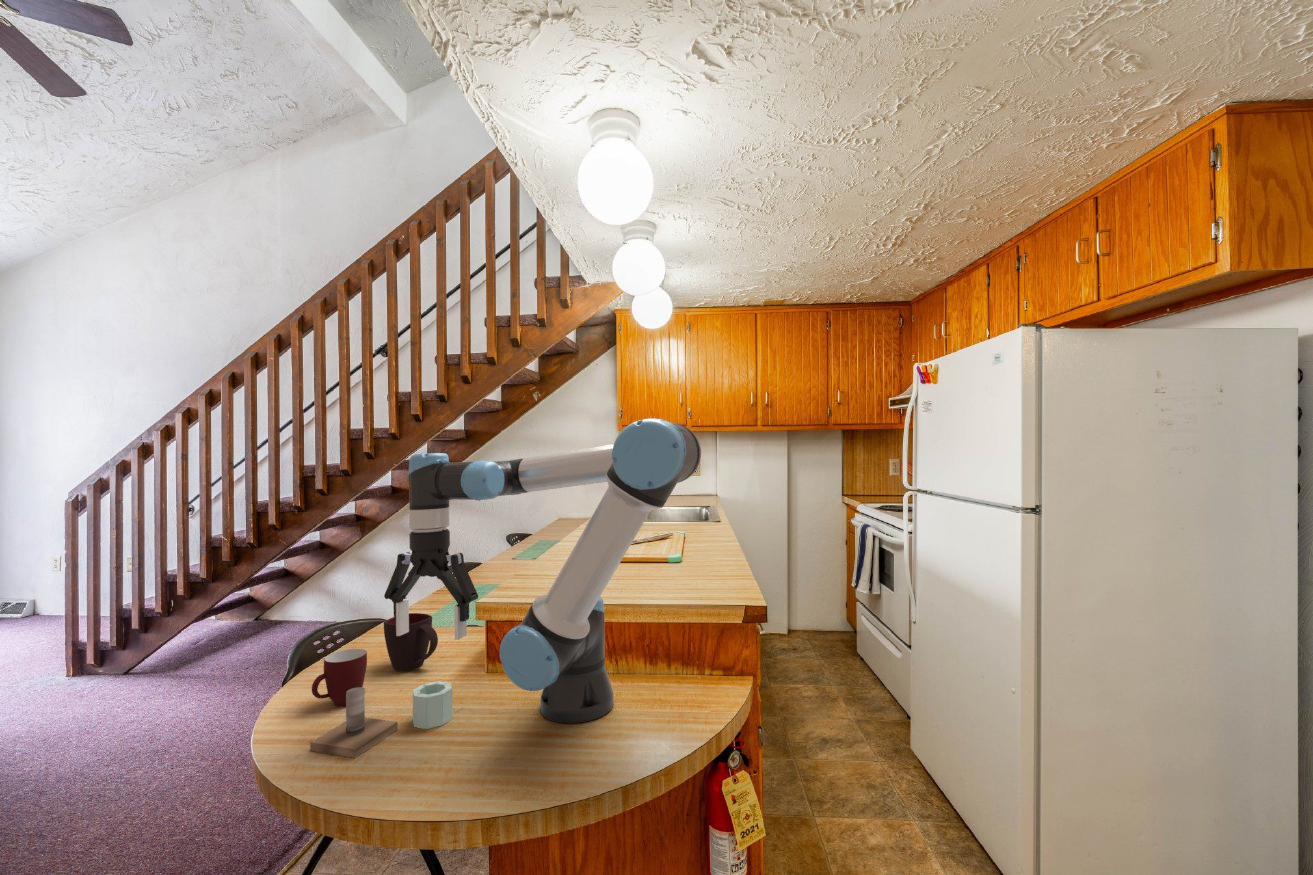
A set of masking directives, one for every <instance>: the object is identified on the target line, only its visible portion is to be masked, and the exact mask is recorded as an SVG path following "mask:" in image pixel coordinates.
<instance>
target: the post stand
mask: <svg viewBox="0 0 1313 875" xmlns="http://www.w3.org/2000/svg"><path fill="white" fill-rule="evenodd" d="M365 690H366V689H365V688H364V687H357V688H352V689H350V690H348V691H347V692H346V706H345V721H344V722H343V723H341V724H339V725H337V726H335V727H334V728H331V729H330V730H329V731H326V732H325V733H323V734H322V735H321V736H318V737H317V738H315V739H313V740H312V741H310V742H309V743H310V744H309V751H311V752H315V753H316V752H317V753H322V754H329V755H334V756H340V757H346V758H353V759H357V758H358V757H359V756H361V755H362V754H364V753H366V751H368V750H369V749H371V748H372V747H374V746H375V745H377V744H378V743H380V742H382V741H383V740H385V739H386V738H387V737H389V736H390V735H392V734H394V733H395V732H396V731H398V721H396V720H394V721H393V720H388V719H379V718H373V717H367V716H366V717H365V712H366V710H365V707H366V706H365V705H366V704H365V703H366V702H365V701H366V698H365V695H366V693H365V692H366V691H365Z"/></svg>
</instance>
